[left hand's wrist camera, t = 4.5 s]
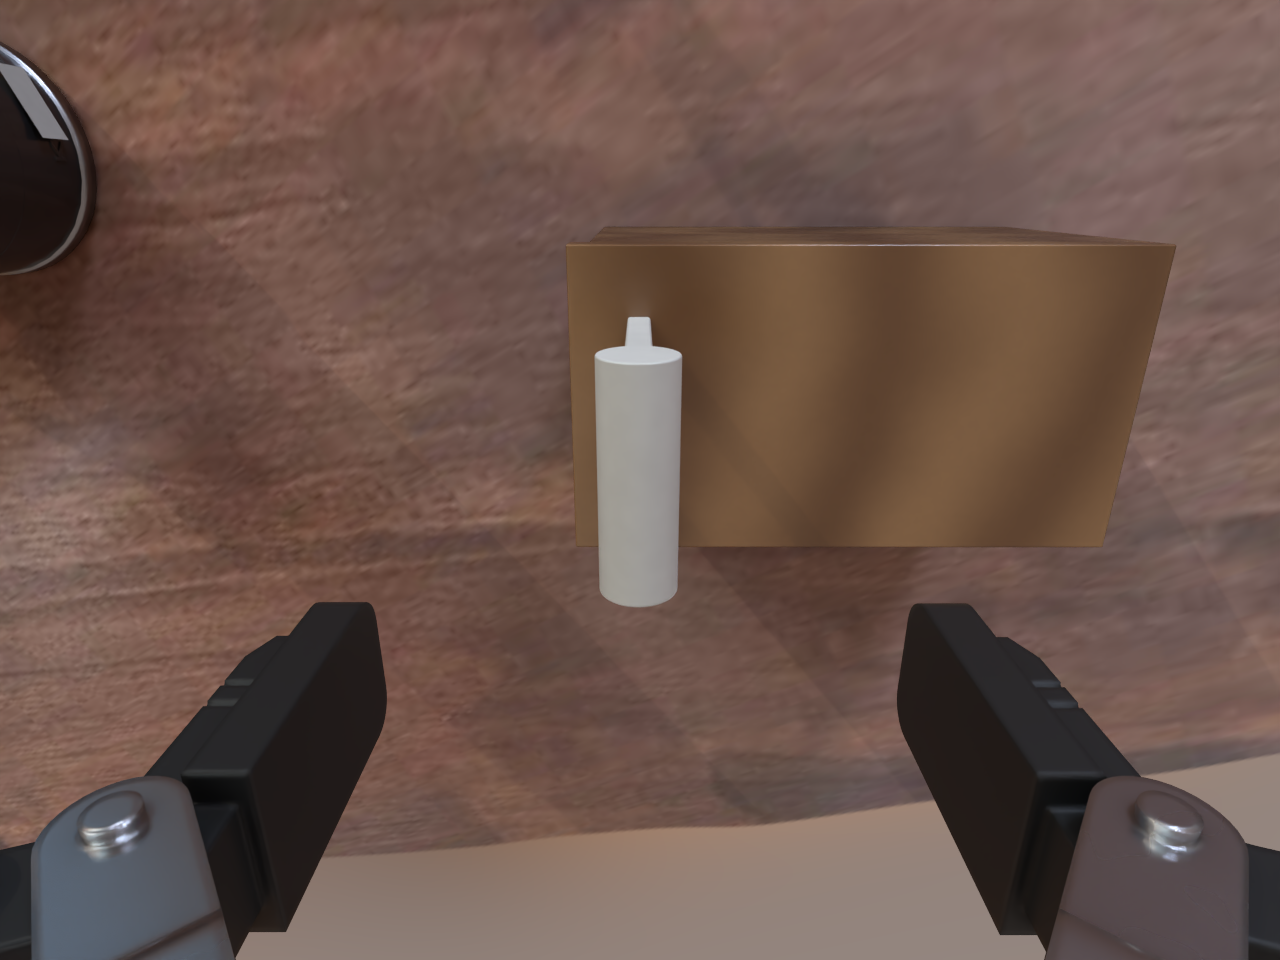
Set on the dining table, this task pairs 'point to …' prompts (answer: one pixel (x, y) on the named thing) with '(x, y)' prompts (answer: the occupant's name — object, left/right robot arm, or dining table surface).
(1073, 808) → the left robot arm
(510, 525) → the dining table surface
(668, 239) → the chest
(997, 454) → the lid
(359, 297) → the dining table surface
